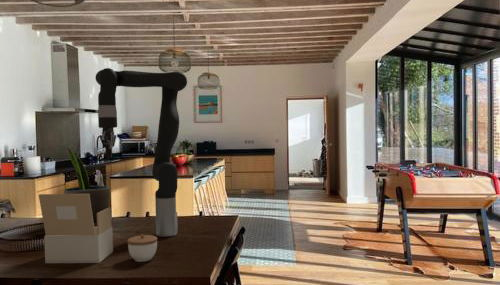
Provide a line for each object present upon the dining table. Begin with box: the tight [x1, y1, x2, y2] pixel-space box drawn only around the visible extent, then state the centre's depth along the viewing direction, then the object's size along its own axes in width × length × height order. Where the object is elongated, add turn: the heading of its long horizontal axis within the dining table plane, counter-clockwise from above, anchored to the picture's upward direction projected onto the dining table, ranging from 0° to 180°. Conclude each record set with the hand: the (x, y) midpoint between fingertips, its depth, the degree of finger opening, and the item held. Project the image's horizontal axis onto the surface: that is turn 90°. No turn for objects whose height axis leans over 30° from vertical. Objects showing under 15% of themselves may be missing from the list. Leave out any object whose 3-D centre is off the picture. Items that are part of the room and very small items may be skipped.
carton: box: [43, 206, 114, 264], centre depth 161 cm, size 20×15×18 cm
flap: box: [38, 193, 95, 236], centre depth 151 cm, size 18×16×1 cm
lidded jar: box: [127, 233, 158, 263], centre depth 157 cm, size 11×11×9 cm
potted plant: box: [63, 148, 111, 226], centre depth 215 cm, size 21×22×40 cm
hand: (109, 157), depth 178 cm, fingers closed
